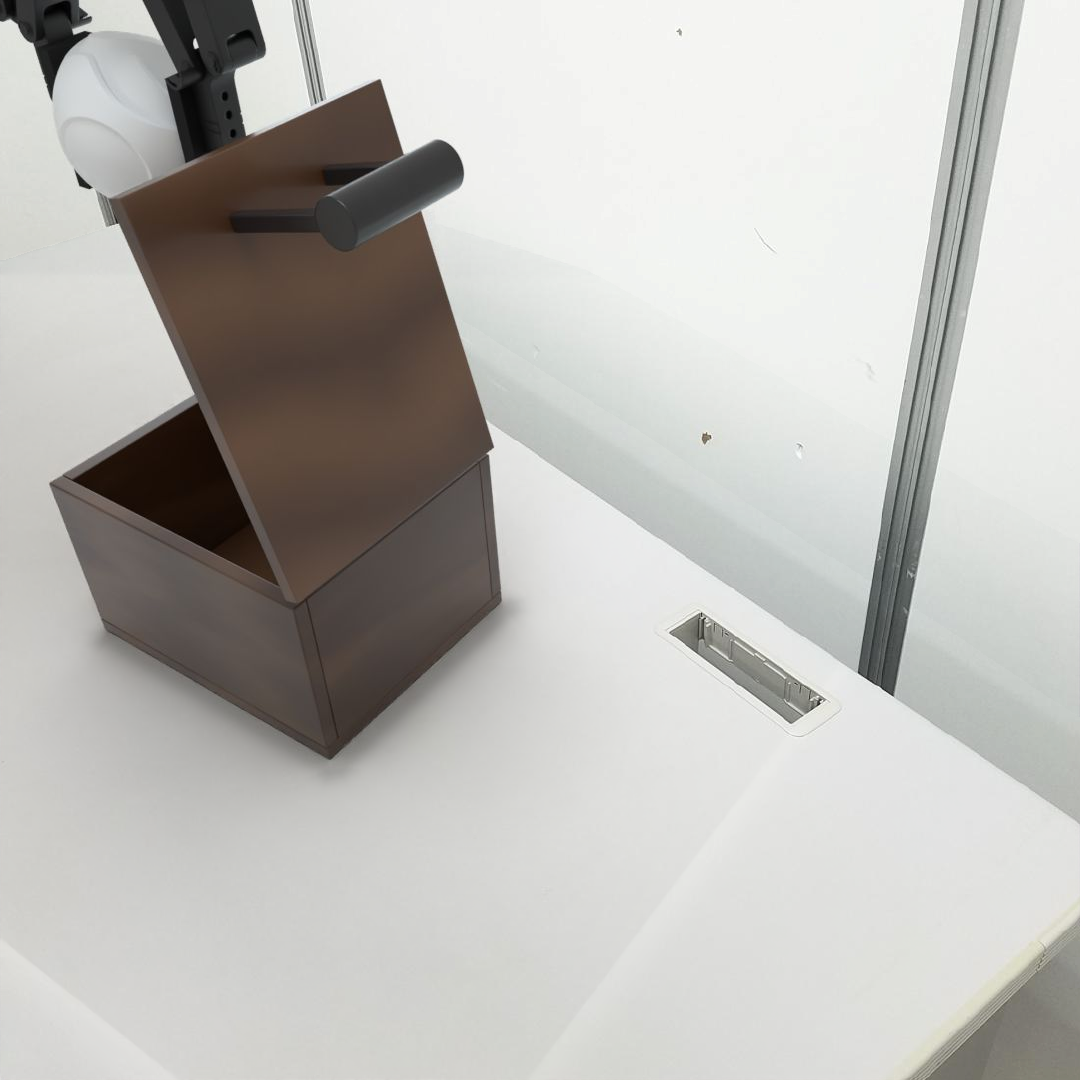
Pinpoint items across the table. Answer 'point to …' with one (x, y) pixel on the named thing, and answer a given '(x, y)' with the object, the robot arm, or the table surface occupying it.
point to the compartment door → (315, 325)
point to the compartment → (272, 583)
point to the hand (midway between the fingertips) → (165, 196)
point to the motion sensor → (117, 111)
